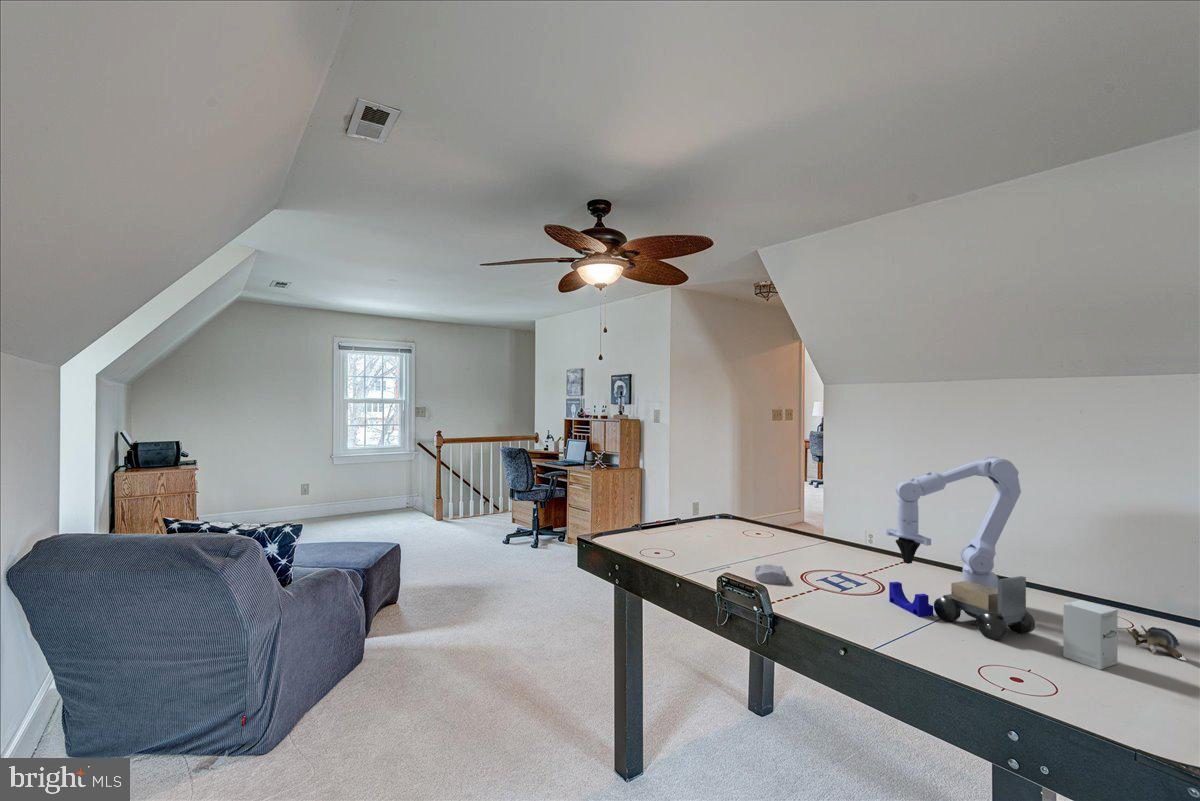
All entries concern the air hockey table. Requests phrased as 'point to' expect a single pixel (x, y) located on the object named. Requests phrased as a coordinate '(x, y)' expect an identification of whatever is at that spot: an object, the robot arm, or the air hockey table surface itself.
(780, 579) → the stone block
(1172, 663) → the air hockey table surface
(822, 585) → the air hockey table surface
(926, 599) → the cable clip
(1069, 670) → the air hockey table surface
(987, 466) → the robot arm
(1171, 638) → the brown animal figurine
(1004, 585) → the trolley
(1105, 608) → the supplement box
